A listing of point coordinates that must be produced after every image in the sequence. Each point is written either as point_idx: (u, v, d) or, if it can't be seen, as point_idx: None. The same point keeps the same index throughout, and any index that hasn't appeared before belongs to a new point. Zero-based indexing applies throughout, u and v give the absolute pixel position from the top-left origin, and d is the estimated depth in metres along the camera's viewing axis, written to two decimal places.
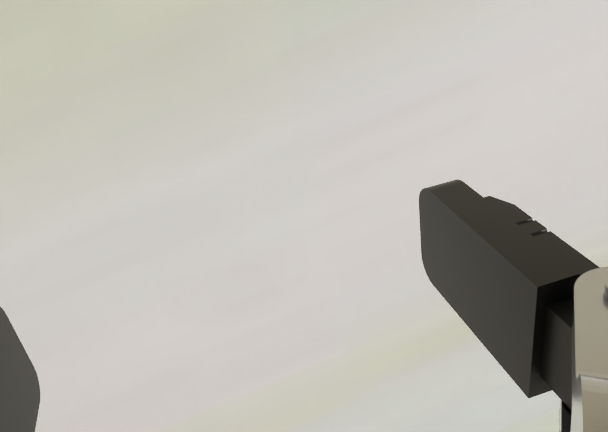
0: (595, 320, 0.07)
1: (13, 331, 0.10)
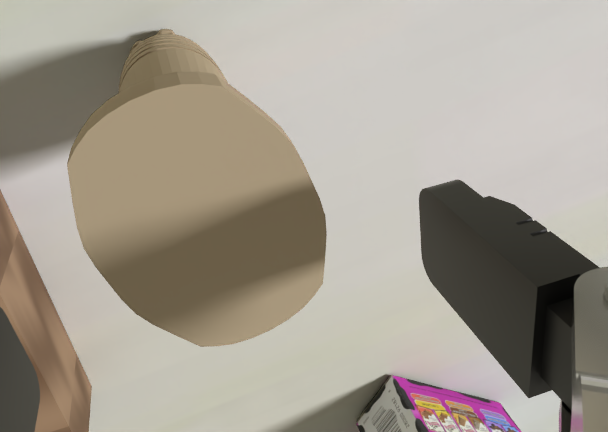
0: (595, 320, 0.07)
1: (13, 331, 0.10)
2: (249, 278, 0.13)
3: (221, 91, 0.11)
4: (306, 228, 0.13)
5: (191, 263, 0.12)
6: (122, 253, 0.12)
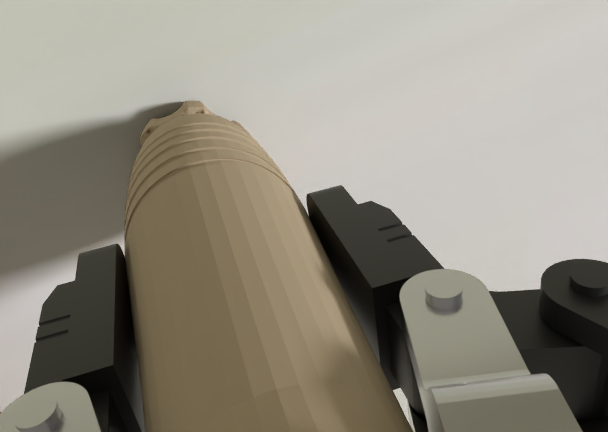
0: (426, 327, 0.07)
1: None
2: None
3: None
4: None
5: None
6: None
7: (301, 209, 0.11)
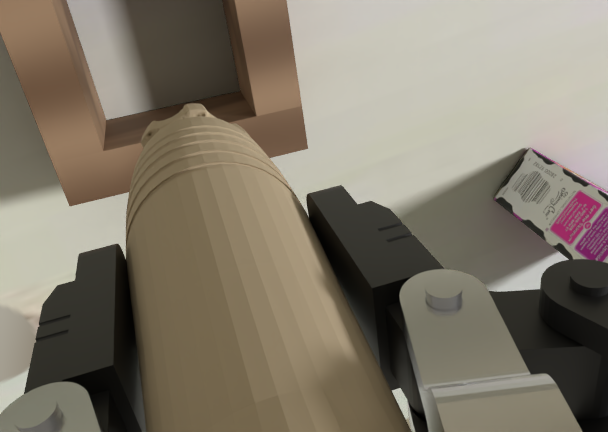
0: (426, 327, 0.07)
1: None
2: None
3: None
4: None
5: None
6: None
7: (302, 213, 0.11)
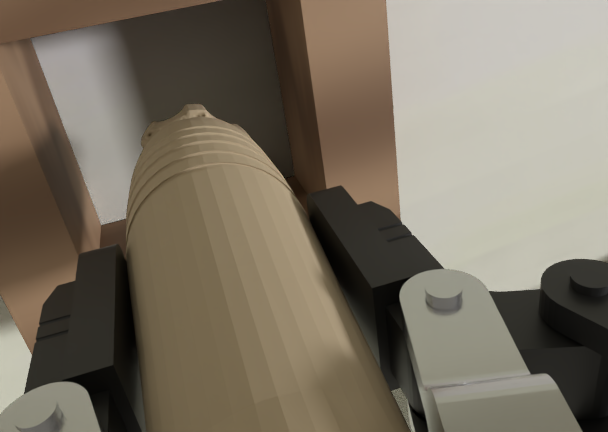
0: (426, 327, 0.07)
1: None
2: None
3: None
4: None
5: None
6: None
7: (302, 213, 0.11)
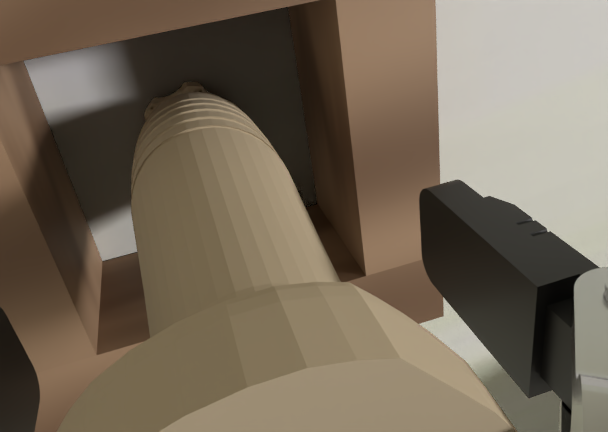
0: (595, 320, 0.07)
1: (13, 331, 0.10)
2: None
3: (396, 367, 0.04)
4: None
5: None
6: None
7: (284, 169, 0.13)
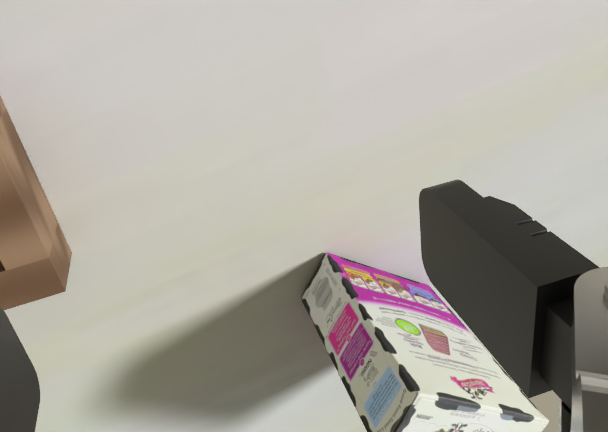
0: (595, 320, 0.07)
1: (13, 331, 0.10)
2: None
3: None
4: None
5: None
6: None
7: None
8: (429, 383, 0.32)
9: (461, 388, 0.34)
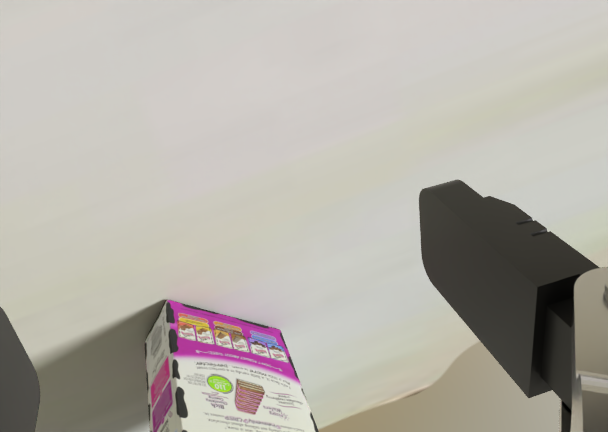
0: (595, 320, 0.07)
1: (13, 331, 0.10)
2: None
3: None
4: None
5: None
6: None
7: None
8: None
9: None
